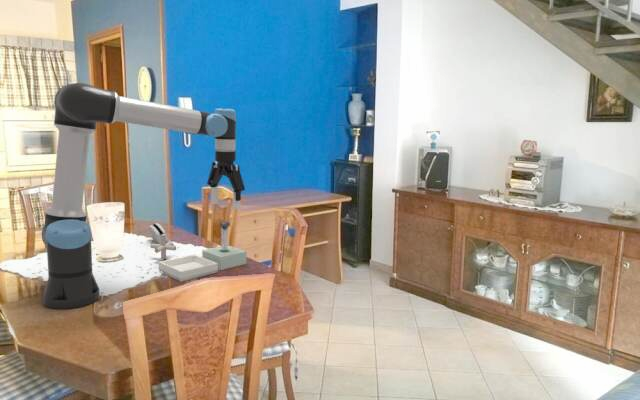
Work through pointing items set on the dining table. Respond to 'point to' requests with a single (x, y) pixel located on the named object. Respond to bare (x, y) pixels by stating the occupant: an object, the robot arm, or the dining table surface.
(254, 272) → the dining table surface
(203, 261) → the tray
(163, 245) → the pipe connector
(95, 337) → the dining table surface
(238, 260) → the block
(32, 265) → the dining table surface
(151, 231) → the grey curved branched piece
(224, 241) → the steel pin
